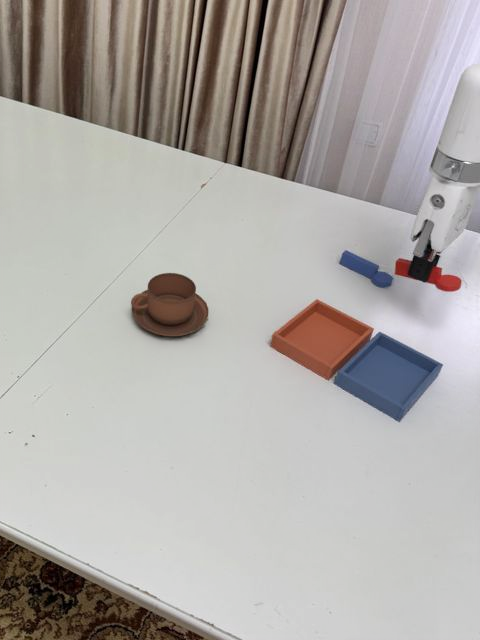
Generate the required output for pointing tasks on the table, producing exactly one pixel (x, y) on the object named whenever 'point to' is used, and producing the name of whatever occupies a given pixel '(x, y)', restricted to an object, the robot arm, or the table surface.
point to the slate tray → (388, 375)
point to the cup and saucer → (170, 306)
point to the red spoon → (440, 281)
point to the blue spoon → (366, 269)
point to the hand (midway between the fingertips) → (419, 275)
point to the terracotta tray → (321, 338)
